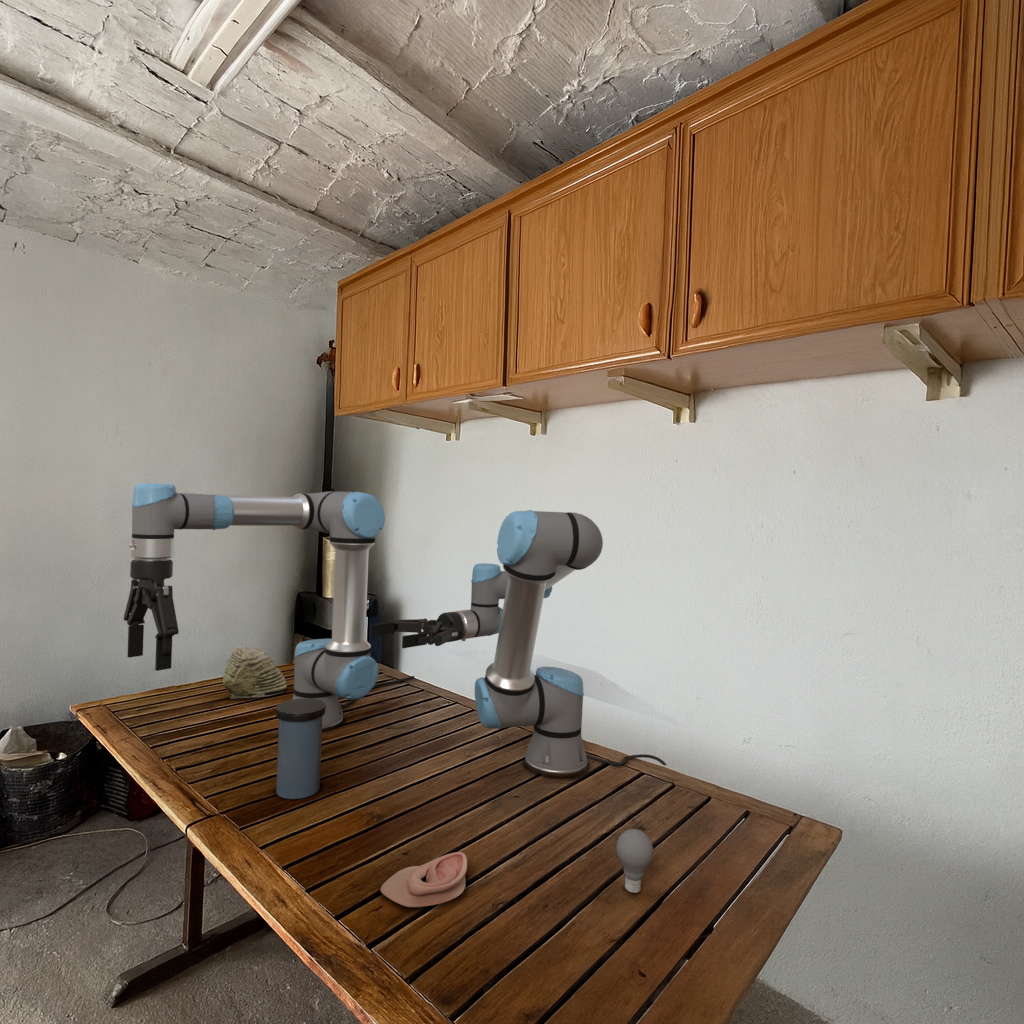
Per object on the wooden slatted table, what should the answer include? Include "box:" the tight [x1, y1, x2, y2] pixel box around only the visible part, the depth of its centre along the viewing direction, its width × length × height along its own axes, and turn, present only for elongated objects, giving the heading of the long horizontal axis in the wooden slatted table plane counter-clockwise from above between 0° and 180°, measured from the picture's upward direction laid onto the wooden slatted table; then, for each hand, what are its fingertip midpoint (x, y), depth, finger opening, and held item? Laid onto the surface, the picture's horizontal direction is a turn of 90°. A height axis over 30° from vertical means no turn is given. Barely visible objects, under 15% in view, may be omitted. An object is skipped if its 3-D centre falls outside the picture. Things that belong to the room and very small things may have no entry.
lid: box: [275, 698, 326, 722], centre depth 136 cm, size 10×10×2 cm
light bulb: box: [615, 828, 654, 894], centre depth 106 cm, size 6×6×10 cm
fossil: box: [222, 646, 288, 699], centre depth 198 cm, size 9×18×15 cm, turn 132°
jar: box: [275, 716, 323, 800], centre depth 137 cm, size 9×9×18 cm
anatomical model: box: [380, 851, 468, 908], centre depth 104 cm, size 13×4×12 cm
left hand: (148, 662), depth 129 cm, fingers open, 13 cm apart
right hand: (386, 636), depth 149 cm, fingers open, 13 cm apart
